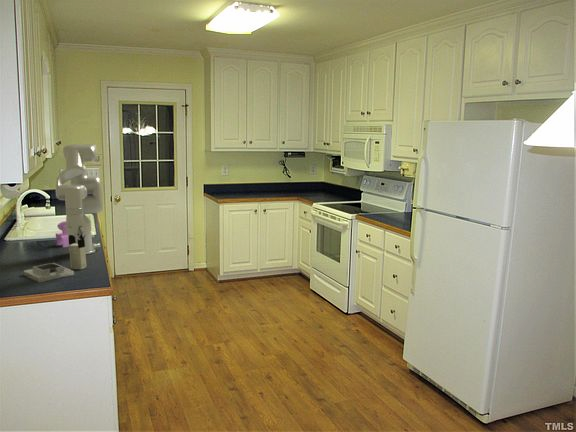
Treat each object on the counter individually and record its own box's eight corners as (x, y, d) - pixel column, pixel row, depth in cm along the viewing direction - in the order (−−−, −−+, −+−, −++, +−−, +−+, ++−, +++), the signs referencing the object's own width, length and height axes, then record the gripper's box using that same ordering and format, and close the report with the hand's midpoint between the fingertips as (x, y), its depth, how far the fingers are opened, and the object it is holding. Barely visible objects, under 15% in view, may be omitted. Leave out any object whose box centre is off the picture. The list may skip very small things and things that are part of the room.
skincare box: (87, 267, 251) (85, 243, 249) (81, 269, 247) (79, 245, 244) (75, 266, 252) (74, 243, 250) (70, 269, 248) (68, 244, 246)
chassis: (57, 268, 250) (56, 260, 249) (74, 274, 238) (73, 266, 237) (23, 274, 238) (22, 266, 237) (39, 282, 226) (38, 273, 225)
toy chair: (68, 243, 306) (66, 218, 303) (74, 245, 300) (73, 220, 297) (54, 245, 299) (52, 220, 297) (61, 247, 294) (59, 222, 291)
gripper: (58, 211, 247) (61, 245, 250) (75, 214, 236) (77, 249, 238) (73, 209, 253) (76, 242, 255) (90, 212, 241) (92, 247, 244)
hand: (76, 246), depth 247 cm, fingers open, 9 cm apart
